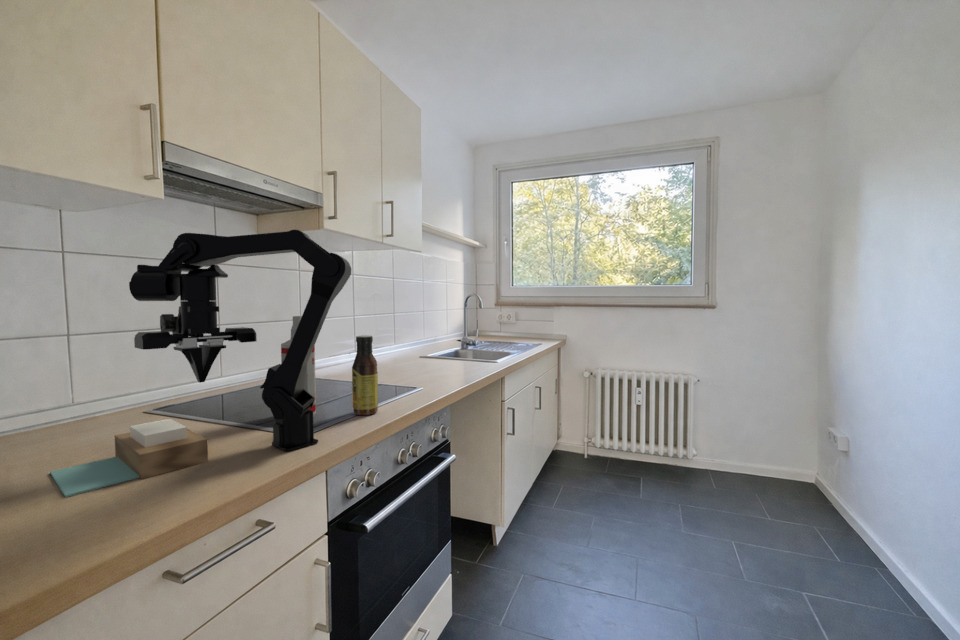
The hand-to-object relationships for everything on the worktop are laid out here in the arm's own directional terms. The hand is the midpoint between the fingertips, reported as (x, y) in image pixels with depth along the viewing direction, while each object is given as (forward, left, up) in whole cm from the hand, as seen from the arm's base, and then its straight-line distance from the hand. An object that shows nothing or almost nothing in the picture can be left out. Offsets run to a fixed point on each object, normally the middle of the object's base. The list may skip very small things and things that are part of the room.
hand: (201, 382), depth 80 cm
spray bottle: (-24, -8, -13) cm, 29 cm away
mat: (+15, 0, -13) cm, 20 cm away
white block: (+7, 0, -9) cm, 11 cm away
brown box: (+7, 0, -13) cm, 15 cm away
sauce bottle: (-35, +4, -13) cm, 38 cm away
